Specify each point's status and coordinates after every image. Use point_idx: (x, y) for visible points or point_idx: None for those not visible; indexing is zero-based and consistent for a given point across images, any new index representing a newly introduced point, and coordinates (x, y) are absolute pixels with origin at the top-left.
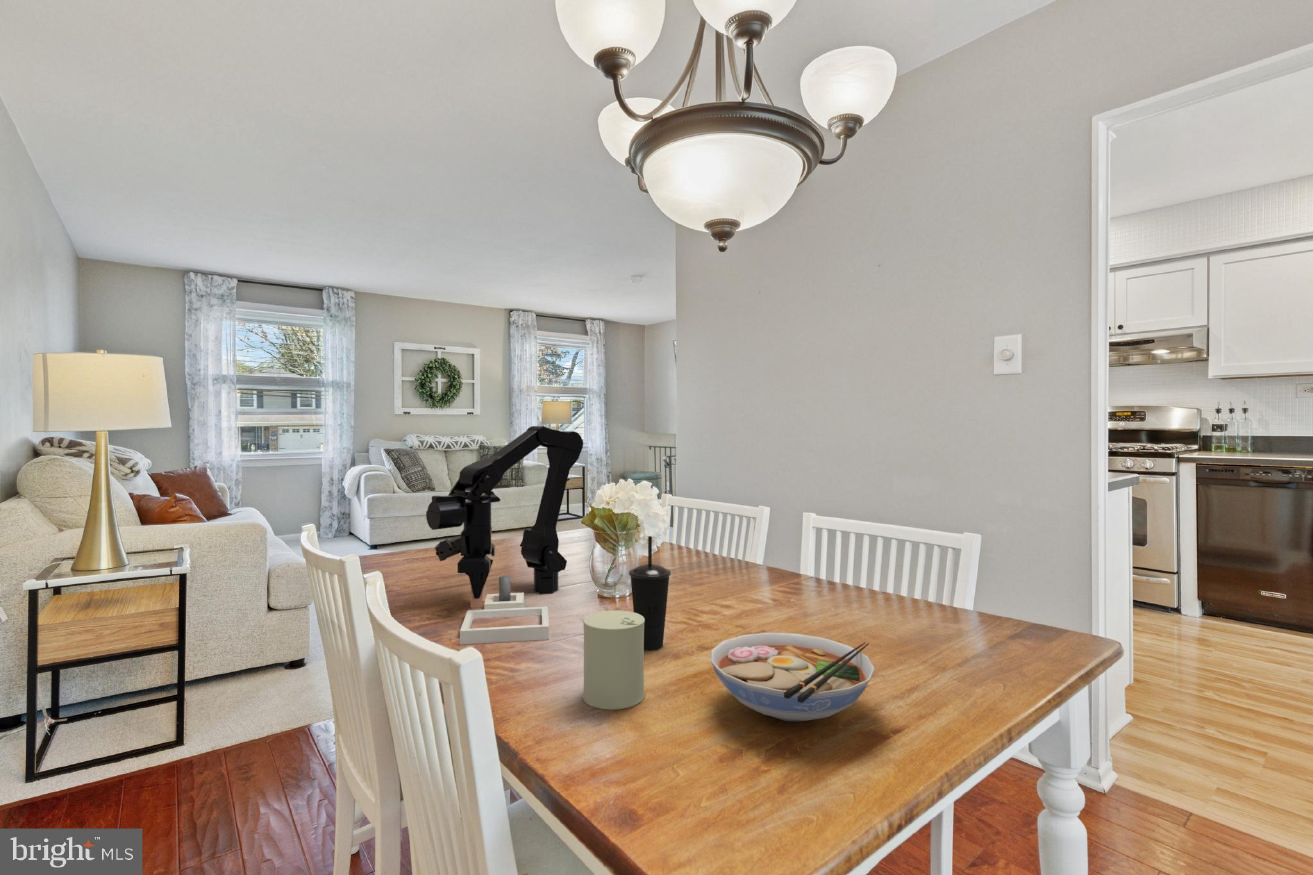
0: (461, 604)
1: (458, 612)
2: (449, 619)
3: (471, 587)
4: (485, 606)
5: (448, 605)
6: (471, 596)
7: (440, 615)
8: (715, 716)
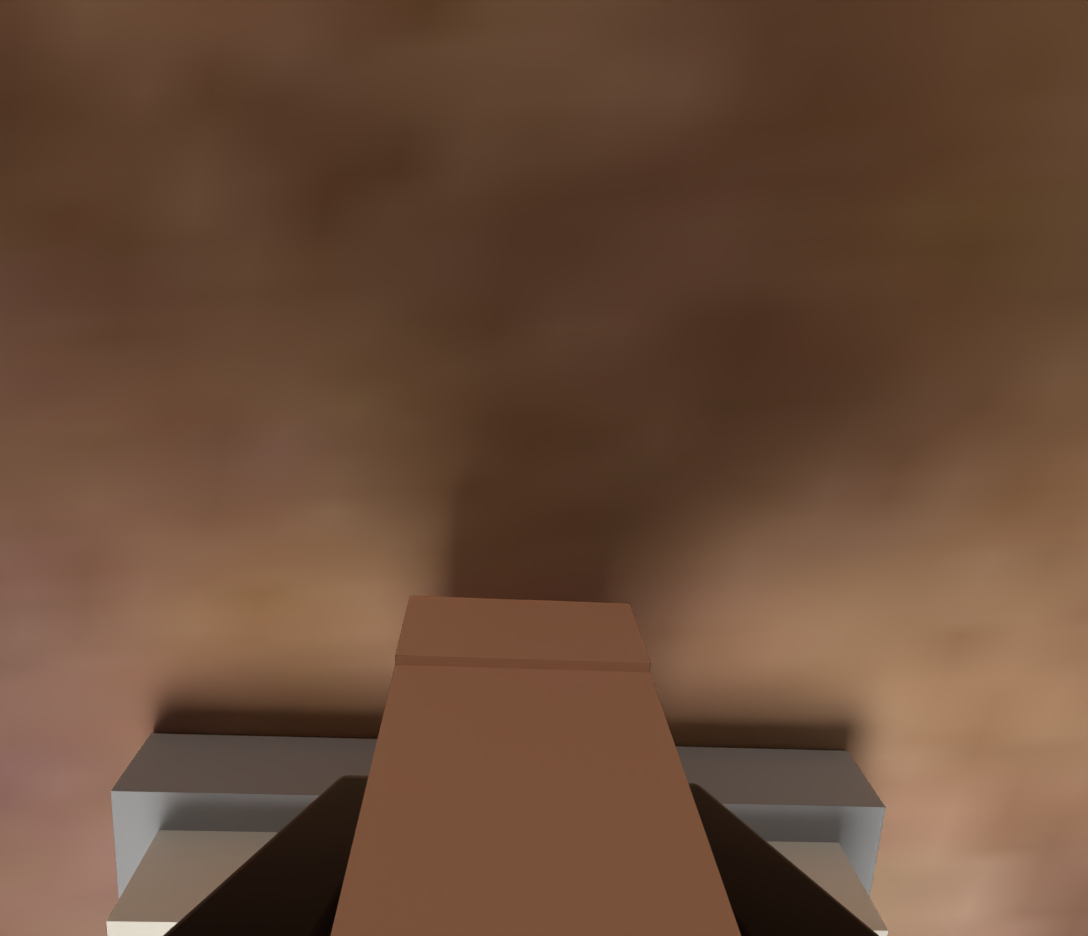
0: (1050, 366)
1: (542, 344)
2: (117, 206)
3: (346, 900)
4: (130, 908)
5: (1073, 120)
6: (380, 731)
7: (414, 4)
8: None
